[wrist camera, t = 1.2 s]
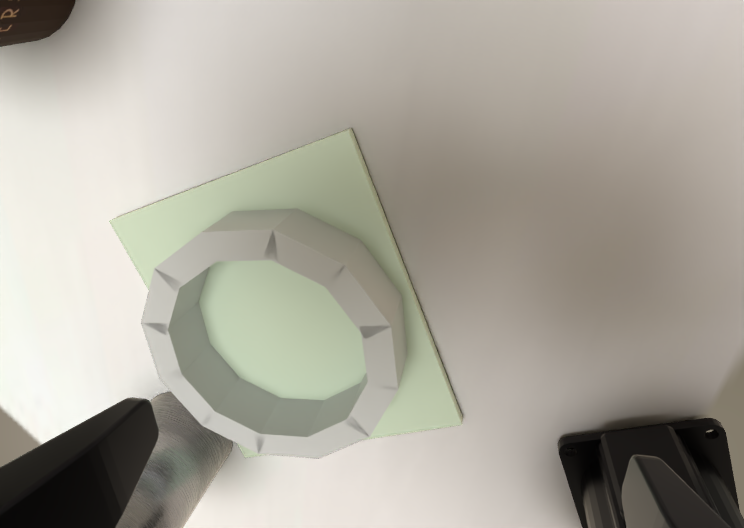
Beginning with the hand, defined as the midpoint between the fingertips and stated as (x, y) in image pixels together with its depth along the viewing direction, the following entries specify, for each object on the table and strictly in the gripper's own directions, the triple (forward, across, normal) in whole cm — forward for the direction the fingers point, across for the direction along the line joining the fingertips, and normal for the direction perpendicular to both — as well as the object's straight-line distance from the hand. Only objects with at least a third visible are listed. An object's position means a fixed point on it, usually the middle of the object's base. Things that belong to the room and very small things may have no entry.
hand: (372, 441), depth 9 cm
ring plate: (+12, +6, +5) cm, 14 cm away
